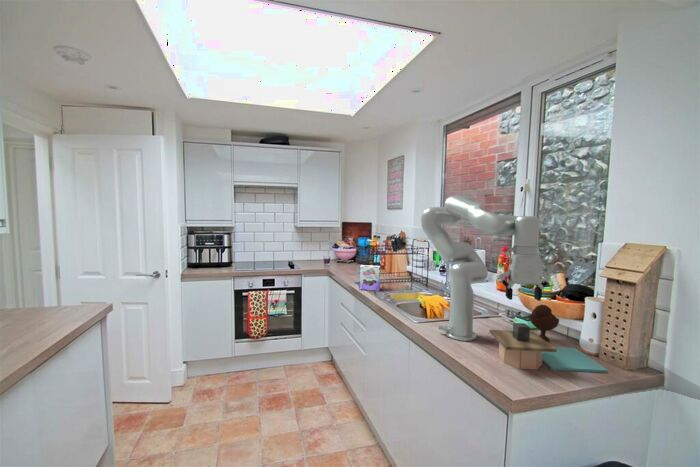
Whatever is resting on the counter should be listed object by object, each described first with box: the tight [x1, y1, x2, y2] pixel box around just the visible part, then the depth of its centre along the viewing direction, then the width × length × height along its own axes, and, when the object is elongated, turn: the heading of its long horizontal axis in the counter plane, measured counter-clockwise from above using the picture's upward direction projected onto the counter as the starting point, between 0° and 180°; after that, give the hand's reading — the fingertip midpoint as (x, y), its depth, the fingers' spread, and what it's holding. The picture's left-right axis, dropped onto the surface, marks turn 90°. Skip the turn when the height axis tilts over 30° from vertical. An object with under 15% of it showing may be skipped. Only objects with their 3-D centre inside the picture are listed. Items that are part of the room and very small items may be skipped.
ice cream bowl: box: [529, 304, 560, 343], centre depth 136 cm, size 11×11×15 cm
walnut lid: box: [489, 322, 557, 352], centre depth 116 cm, size 16×16×6 cm
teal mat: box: [542, 346, 609, 374], centre depth 118 cm, size 18×18×1 cm
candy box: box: [358, 264, 381, 292], centre depth 220 cm, size 14×6×16 cm, turn 80°
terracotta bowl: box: [498, 341, 543, 370], centre depth 116 cm, size 13×13×7 cm
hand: (523, 299), depth 115 cm, fingers open, 9 cm apart
